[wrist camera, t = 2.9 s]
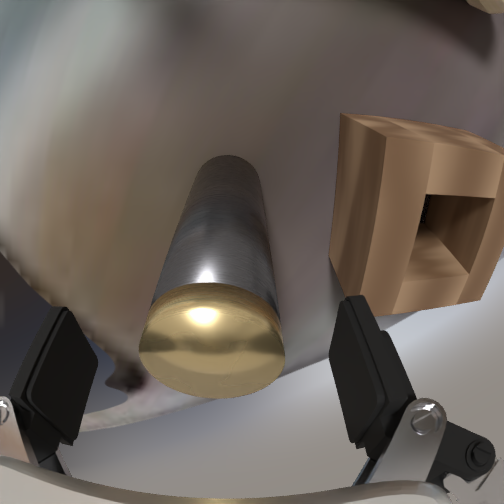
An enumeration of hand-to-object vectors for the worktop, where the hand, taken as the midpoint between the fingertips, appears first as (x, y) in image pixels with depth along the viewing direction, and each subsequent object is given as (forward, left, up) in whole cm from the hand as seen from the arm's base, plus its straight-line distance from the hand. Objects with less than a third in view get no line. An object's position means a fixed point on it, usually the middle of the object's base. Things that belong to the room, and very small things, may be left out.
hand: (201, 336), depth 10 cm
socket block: (-13, 0, -13) cm, 18 cm away
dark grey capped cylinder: (0, 0, -13) cm, 13 cm away
